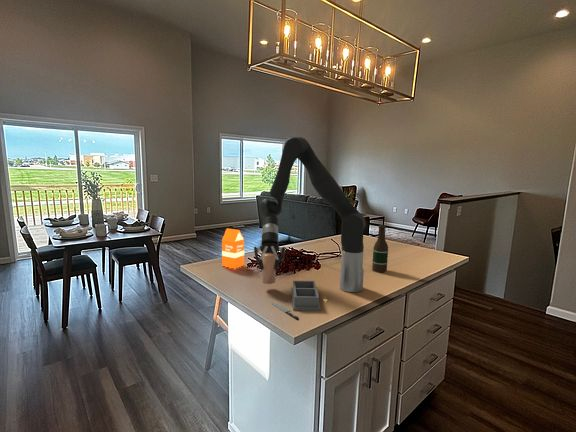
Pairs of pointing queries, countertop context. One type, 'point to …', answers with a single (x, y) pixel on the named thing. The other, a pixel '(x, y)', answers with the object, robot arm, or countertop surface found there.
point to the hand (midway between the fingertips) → (268, 269)
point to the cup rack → (305, 296)
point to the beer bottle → (380, 252)
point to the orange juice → (232, 249)
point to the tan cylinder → (268, 268)
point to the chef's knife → (284, 310)
